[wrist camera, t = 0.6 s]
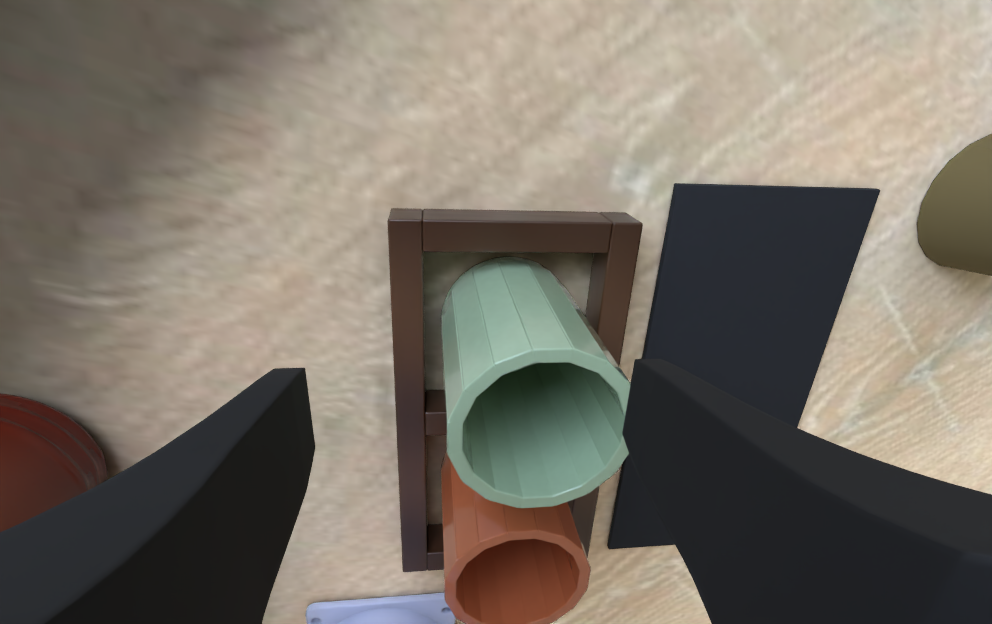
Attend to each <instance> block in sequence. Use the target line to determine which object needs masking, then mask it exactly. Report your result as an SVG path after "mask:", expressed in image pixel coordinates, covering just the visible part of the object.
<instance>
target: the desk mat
mask: <svg viewBox="0 0 992 624" xmlns="http://www.w3.org/2000/svg"><path fill="white" fill-rule="evenodd" d="M879 193H880V190H879V189H872V188H834V187H795V186H757V185H718V184H680V183H675V184H674V190H673V195H672V200H671V206H670V211H669V217H668V222H667V227H666V233H665V238H664V243H663V249H662V254H661V260H660V265H659V270H658V276H657V281H656V287H655V292H654V297H653V303H652V308H651V314H650V319H649V324H648V330H647V335H646V340H645V346H644V351H643V357H642V359H662V360H665V361H667V362H670V363H672V364H674V365H676V366H678V367H680V368H682V369H684V370H686V371H688V372H690V373H691V374H693V375H695V376H697V377H699V378H701V379H703V380H704V381H706V382H708V383H710V384H712V385H714V386H715V387H717V388H719V389H721V390H723V391H725V392H726V393H728V394H730V395H732V396H734V397H736V398H738V399H739V400H741V401H743V402H745V403H747V404H749V405H751V406H753V407H755V408H757V409H759V410H761V411H763V412H765V413H767V414H769V415H771V416H773V417H775V418H777V419H779V420H781V421H783V422H785V423H787V424H789V425H792V426H794V427H796V428H797V427H798V424H799V421H800V418H801V415H802V412H803V409H804V407H805V404H806V401H807V398H808V395H809V392H810V389H811V387H812V384H813V381H814V378H815V375H816V372H817V369H818V367H819V364H820V361H821V358H822V355H823V352H824V349H825V347H826V344H827V341H828V338H829V335H830V332H831V330H832V327H833V324H834V321H835V318H836V315H837V312H838V310H839V307H840V304H841V301H842V298H843V295H844V292H845V290H846V287H847V284H848V281H849V278H850V275H851V272H852V270H853V267H854V264H855V261H856V258H857V255H858V252H859V250H860V247H861V244H862V241H863V238H864V235H865V233H866V230H867V227H868V224H869V221H870V218H871V215H872V213H873V210H874V207H875V204H876V201H877V198H878V195H879ZM661 545H675V543H674V541H673V540H672V538H671V536H670V534H669V532H668V530H667V528H666V527H665V525H664V523H663V521H662V519H661V517H660V516H659V514H658V512H657V510H656V508H655V506H654V505H653V503H652V501H651V499H650V497H649V495H648V493H647V492H646V490H645V488H644V486H643V484H642V482H641V480H640V478H639V476H638V474H637V472H636V470H635V467H634V465H633V462H632V460H631V457H630V455H629V454H628V456H627V457H626V459H625V460H624V462H623V464H622V470H621V475H620V481H619V486H618V491H617V497H616V502H615V507H614V513H613V518H612V524H611V529H610V534H609V540H608V548H609V549H619V548H633V547H647V546H661Z"/></svg>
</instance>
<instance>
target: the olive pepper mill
mask: <svg viewBox="0 0 992 624" xmlns="http://www.w3.org/2000/svg"><path fill="white" fill-rule="evenodd" d="M917 228H918V239H919V244H920V246H921V247H922V249H923V251H924V253H925V255H926V256H927V257H928V258H930V259H931V260H932V261H934V262H935V263H937V264H938V265H941V266H946V267H951V268H956V269H961V270H966V271H971V272H976V273H981V274H985V275H990V276H992V134H990V135H988V136H986V137H984V138H982V139H980V140H978V141H976V142H974V143H972V144H970V145H969V146H967V147H966V148H965V149H964V150H962V151H961V152H960V153H959V154H957V155H956V156H955V157H954V158H952V159H951V160H950V161H949V162H948V163H947V165H946V166H945V167H944V168H943V170H942V171H941V172H940V173H939V174H938V176H937V177H936V178H935V179H934V180H933V182H932V184H931V186H930V188H929V190H928V192H927V194H926V196H925V198H924V200H923V202H922V205H921V209H920V214H919V218H918V222H917Z"/></svg>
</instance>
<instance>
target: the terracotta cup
mask: <svg viewBox="0 0 992 624" xmlns="http://www.w3.org/2000/svg"><path fill="white" fill-rule="evenodd" d="M441 499H442V533H443V566H444V599H445V602H446V603H447V605H448V606H449V608H450V610H451V611H452V613H453V614H454V616H455V617H456V618H457V619H458V620H460V621H462V622H464V623H465V624H550V623H552V622H554V621H556V620H557V619H559V618H560V617H562V616H563V615H564V614H566V613H567V612H569V611H570V610H571V609H573V608H574V607H575V606H576V604H577V603H578V601H579V600H580V599H581V597H582V596H583V595H584V593H585V592H586V590H587V588H588V582H589V577H590V571H591V569H590V564H589V561H588V558H587V555H586V553H585V550H584V547H583V544H582V541H581V538H580V535H579V532H578V529H577V526H576V523H575V520H574V517H573V514H572V511H571V508H570V505H569V502H565V503H562V504H560V505H557V506H555V505H554V506H553V507H536V508H516V507H512V506H508V505H504V504H501V503H497V502H493V501H489V500H488V499H485V498H484V497H482V496H481V495H480V494H478V493H477V492H476V491H474V490H473V489H472V488H470V487H469V486H468V485H466V484H465V483H463V482H462V480H461V479H460V477H459V475H458V474H457V472H456V470H455V468H454V466H453V464H452V462H451V460H450V458H449V456H448V453H447V452H446V454H445V456H444V458H443V461H442V465H441Z"/></svg>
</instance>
